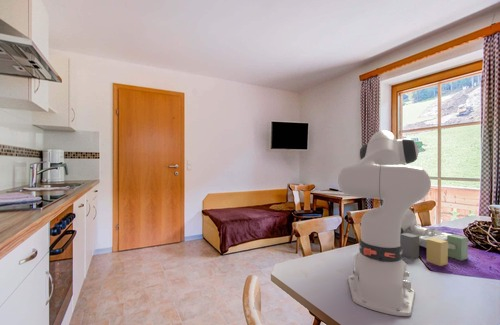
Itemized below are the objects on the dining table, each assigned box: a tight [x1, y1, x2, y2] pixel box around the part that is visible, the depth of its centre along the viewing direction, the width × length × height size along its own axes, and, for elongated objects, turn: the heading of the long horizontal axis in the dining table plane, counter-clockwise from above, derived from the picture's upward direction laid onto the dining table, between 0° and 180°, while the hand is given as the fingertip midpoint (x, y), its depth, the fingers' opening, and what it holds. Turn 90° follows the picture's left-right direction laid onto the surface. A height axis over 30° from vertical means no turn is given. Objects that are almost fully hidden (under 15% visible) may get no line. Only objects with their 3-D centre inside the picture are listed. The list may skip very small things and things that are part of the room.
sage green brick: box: [447, 233, 469, 261], centre depth 102 cm, size 5×5×9 cm
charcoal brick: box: [400, 233, 420, 260], centre depth 103 cm, size 5×5×9 cm
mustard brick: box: [426, 238, 449, 267], centre depth 96 cm, size 5×5×9 cm
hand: (459, 246), depth 101 cm, fingers closed on sage green brick, 5 cm apart
